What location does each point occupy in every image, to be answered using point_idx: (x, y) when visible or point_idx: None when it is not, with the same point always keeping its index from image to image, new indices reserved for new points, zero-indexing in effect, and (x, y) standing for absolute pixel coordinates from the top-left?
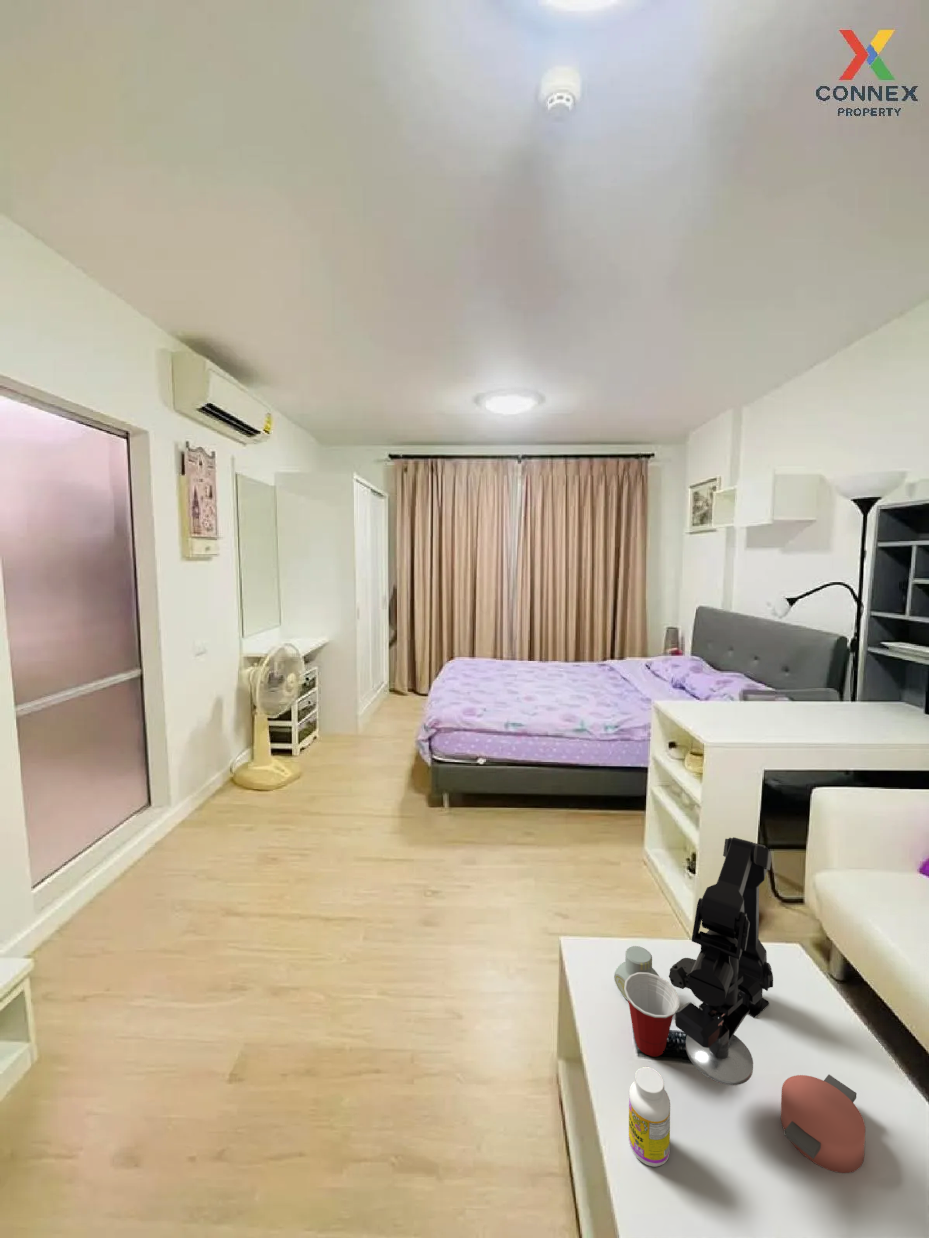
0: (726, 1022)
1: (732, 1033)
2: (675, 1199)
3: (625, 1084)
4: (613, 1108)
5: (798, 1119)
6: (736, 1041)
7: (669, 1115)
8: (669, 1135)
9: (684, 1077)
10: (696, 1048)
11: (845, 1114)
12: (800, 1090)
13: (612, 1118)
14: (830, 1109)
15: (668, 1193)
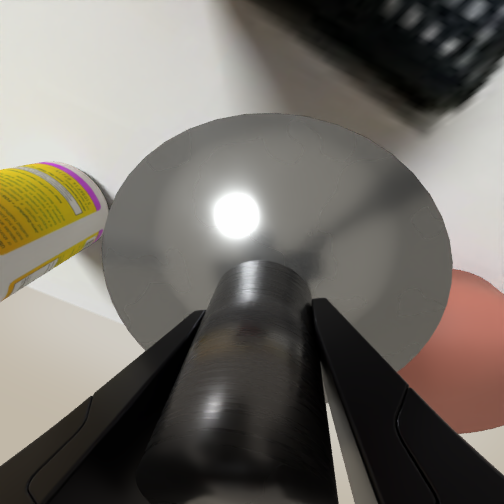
0: (360, 492)
1: (341, 451)
2: (86, 281)
3: (70, 31)
4: (16, 89)
5: None
6: (408, 311)
7: (8, 296)
8: (65, 260)
9: (260, 93)
10: (157, 244)
11: (482, 407)
12: (467, 343)
13: (8, 113)
14: (468, 390)
15: (78, 271)
